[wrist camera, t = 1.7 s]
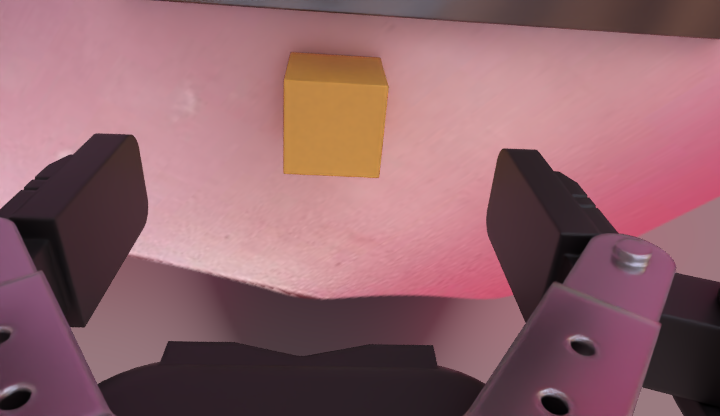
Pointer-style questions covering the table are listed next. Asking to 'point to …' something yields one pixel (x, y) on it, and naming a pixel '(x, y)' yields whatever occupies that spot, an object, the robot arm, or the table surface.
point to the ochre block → (334, 115)
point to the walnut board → (528, 13)
